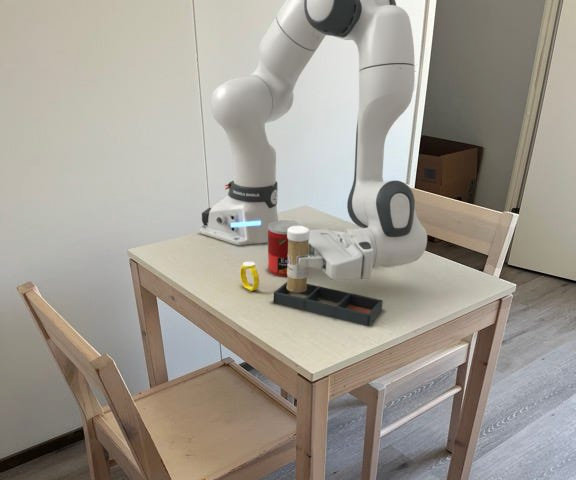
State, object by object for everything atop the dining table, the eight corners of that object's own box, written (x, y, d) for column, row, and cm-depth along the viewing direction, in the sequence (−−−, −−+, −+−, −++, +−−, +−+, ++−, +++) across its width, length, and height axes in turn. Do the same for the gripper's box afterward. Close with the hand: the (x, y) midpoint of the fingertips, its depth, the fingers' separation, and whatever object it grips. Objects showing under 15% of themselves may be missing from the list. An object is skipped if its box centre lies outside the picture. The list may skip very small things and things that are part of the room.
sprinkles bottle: (283, 286, 130) (283, 226, 123) (302, 283, 132) (304, 223, 124) (291, 295, 127) (292, 233, 119) (311, 291, 128) (313, 231, 121)
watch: (262, 292, 133) (262, 267, 130) (251, 295, 132) (251, 269, 129) (248, 282, 137) (247, 258, 134) (237, 285, 136) (236, 260, 133)
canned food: (279, 279, 139) (280, 233, 133) (261, 268, 145) (261, 223, 138) (306, 272, 143) (308, 227, 137) (288, 261, 148) (288, 218, 142)
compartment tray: (273, 303, 129) (273, 292, 127) (289, 289, 135) (289, 279, 133) (369, 326, 121) (370, 315, 119) (381, 310, 127) (382, 300, 125)
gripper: (337, 220, 135) (279, 225, 131) (376, 253, 119) (310, 260, 115) (335, 246, 138) (278, 252, 135) (373, 282, 122) (309, 290, 119)
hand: (293, 256), depth 125 cm, fingers closed on sprinkles bottle, 4 cm apart
